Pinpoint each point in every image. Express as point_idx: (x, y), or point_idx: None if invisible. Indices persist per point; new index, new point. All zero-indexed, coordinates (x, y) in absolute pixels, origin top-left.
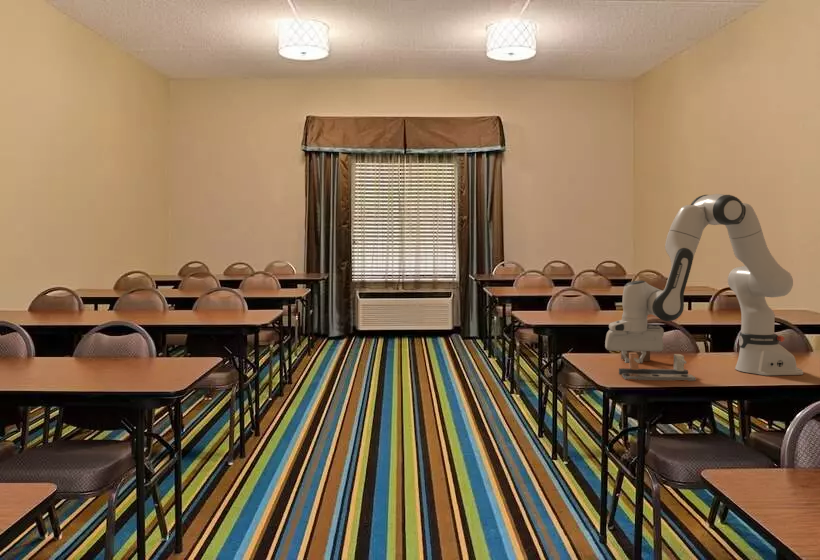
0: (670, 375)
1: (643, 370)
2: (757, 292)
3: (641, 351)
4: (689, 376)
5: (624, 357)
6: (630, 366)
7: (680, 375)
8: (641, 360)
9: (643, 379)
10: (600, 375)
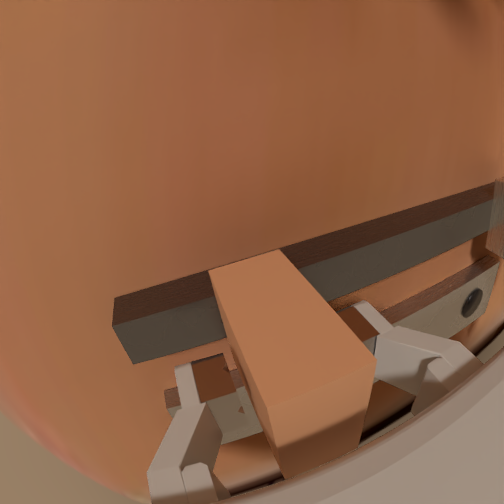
0: (430, 329)
1: (330, 297)
2: None
3: (433, 401)
4: (478, 306)
5: (182, 422)
6: (232, 349)
7: (463, 305)
8: None
9: None
10: (32, 396)
